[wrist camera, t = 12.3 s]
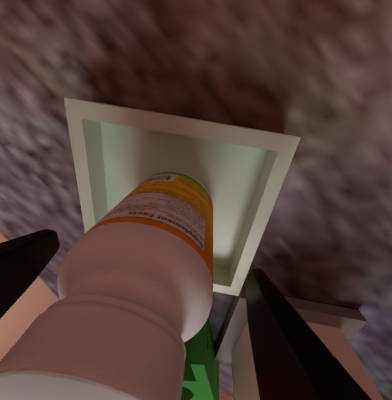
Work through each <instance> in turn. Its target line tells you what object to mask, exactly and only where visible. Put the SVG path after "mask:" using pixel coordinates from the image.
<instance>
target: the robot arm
mask: <svg viewBox="0 0 392 400" xmlns="http://www.w3.org/2000/svg"><path fill="white" fill-rule="evenodd" d="M59 247H60V243H59V239H58V235H57V232H56V231H54V230H49V229H44V230H41V231H38V232H34V233H31V234H28V235H25V236H22V237H18V238H15V239H12V240H9V241H6V242H2V243H0V318H1V317H2V316H3V315H4V314H5V313H6V312H7V311H8V310H9V308H10V307H11V306H12V305H13V304H14V303H15V302H16V301H17V300H18V299H19V297H20V296H21V295H22V294H23V293H24V292H25V291H26V290H27V289H28V287H29V286H30V285H31V284H32V283H33V282H34V280H35V279H36V278H37V277H38V276H39V274H40V273H41V272H42V270H43V269H44V268H45V266H46V265H47V264H48V263H49V261H50V260H51V259H52V257H53V256H54V255H55V253H56V252H57V251H58V249H59ZM245 286H246V304H247V320H248V328H249V334H250V341H251V347H252V353H253V360H254V366H255V372H256V379H257V385H258V391H259V397H260V400H372V399H371V398H370V397H369V396H368V395H367V394H366V393H365V391H364V390H363V389H362V388H361V387H360V386H359V384H358V383H357V382H356V381H355V380H354V379H353V378H352V376H351V375H350V374H349V373H348V372H347V371H346V369H345V368H344V367H343V366H342V365H341V363H340V362H339V361H338V360H337V359H336V357H334V356H333V355H332V353H331V352H330V350H329V349H328V348H327V347H326V346H325V344H324V343H323V342H322V341H321V340H320V339H319V337H318V336H317V335H316V334H315V333H314V331H313V330H312V329H311V328H310V327H309V325H308V324H307V323H306V322H305V321H304V319H303V318H302V317H301V316H300V315H299V313H298V312H297V311H296V310H295V309H294V308H293V306H292V305H291V304H290V303H289V302H288V300H287V299H286V298H285V297H284V296H283V294H282V293H281V292H280V291H279V290H278V288H277V287H276V286H275V285H274V284H273V282H272V281H271V280H270V279H269V278H268V277H267V275H266V274H265V273H264V272H263V271H262V270H261V269H260V268H255V267H252V268H251V269H250V271H249V273H248V276H247V278H246V284H245Z"/></svg>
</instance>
